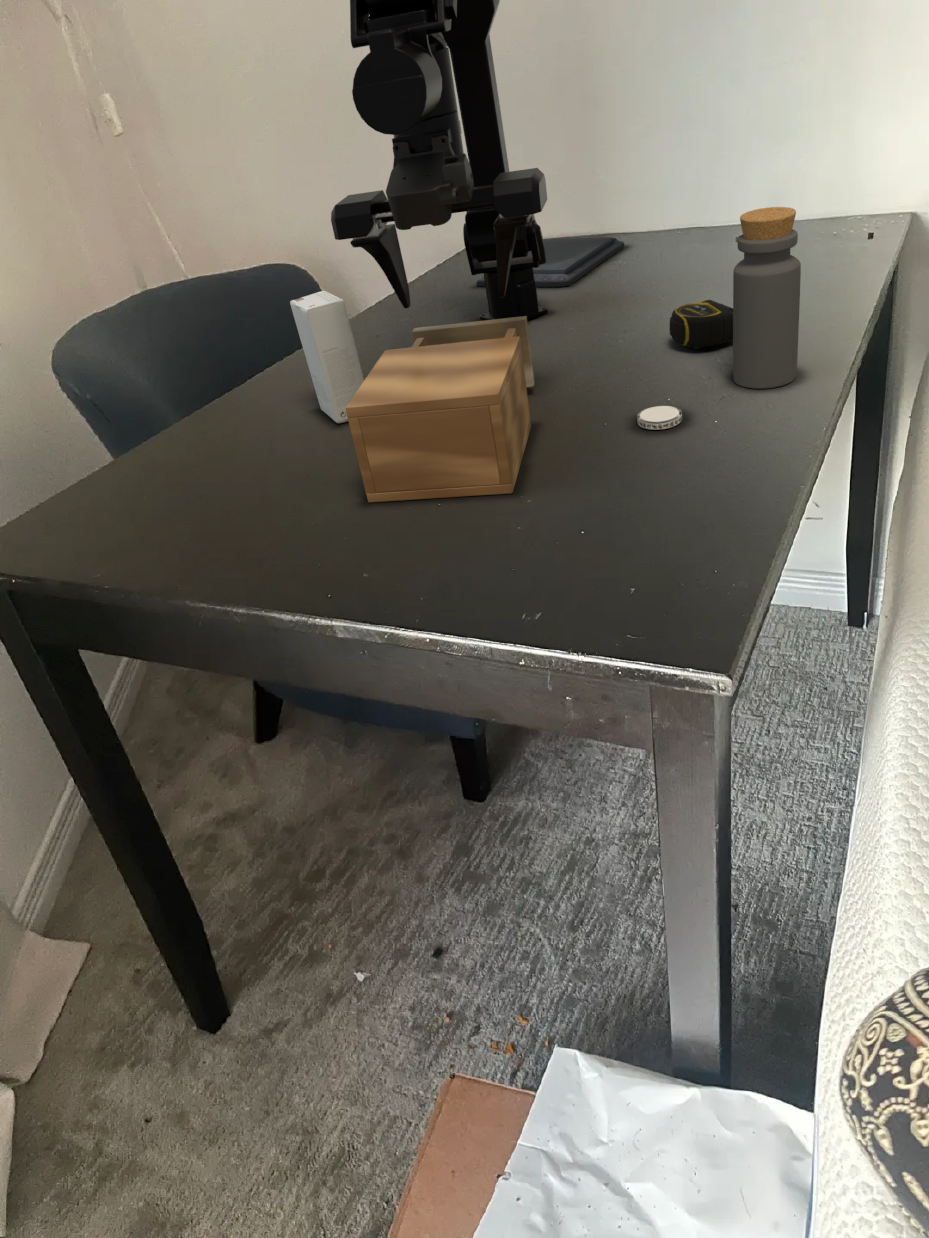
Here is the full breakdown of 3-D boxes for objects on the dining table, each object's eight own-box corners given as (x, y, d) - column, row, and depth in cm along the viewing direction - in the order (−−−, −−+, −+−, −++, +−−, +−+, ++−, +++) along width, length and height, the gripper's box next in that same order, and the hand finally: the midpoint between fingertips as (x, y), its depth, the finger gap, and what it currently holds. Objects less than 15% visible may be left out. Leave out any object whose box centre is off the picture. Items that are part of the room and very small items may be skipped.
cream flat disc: (635, 430, 85) (634, 423, 85) (640, 412, 88) (639, 406, 88) (680, 428, 84) (679, 422, 83) (683, 410, 87) (683, 404, 87)
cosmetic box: (374, 413, 99) (348, 298, 93) (335, 426, 98) (305, 310, 91) (354, 398, 104) (328, 287, 97) (316, 410, 103) (287, 299, 96)
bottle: (725, 373, 93) (724, 213, 85) (783, 362, 93) (788, 201, 85) (744, 393, 88) (745, 226, 80) (806, 382, 88) (814, 213, 80)
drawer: (433, 379, 103) (422, 316, 99) (538, 369, 100) (531, 303, 96) (399, 442, 89) (384, 372, 85) (519, 433, 87) (509, 360, 83)
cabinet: (403, 437, 93) (385, 350, 88) (531, 426, 90) (520, 336, 85) (367, 503, 82) (344, 407, 77) (512, 493, 79) (498, 394, 74)
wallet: (565, 273, 126) (471, 273, 134) (566, 288, 127) (473, 287, 135) (629, 232, 139) (539, 234, 147) (630, 246, 140) (541, 247, 148)
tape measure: (748, 343, 99) (749, 308, 97) (690, 359, 98) (689, 323, 96) (714, 328, 104) (714, 294, 102) (659, 343, 103) (657, 309, 101)
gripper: (291, 148, 75) (336, 340, 84) (521, 112, 71) (544, 318, 79) (331, 128, 84) (368, 303, 93) (537, 94, 80) (556, 281, 88)
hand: (454, 302), depth 88 cm, fingers open, 9 cm apart
